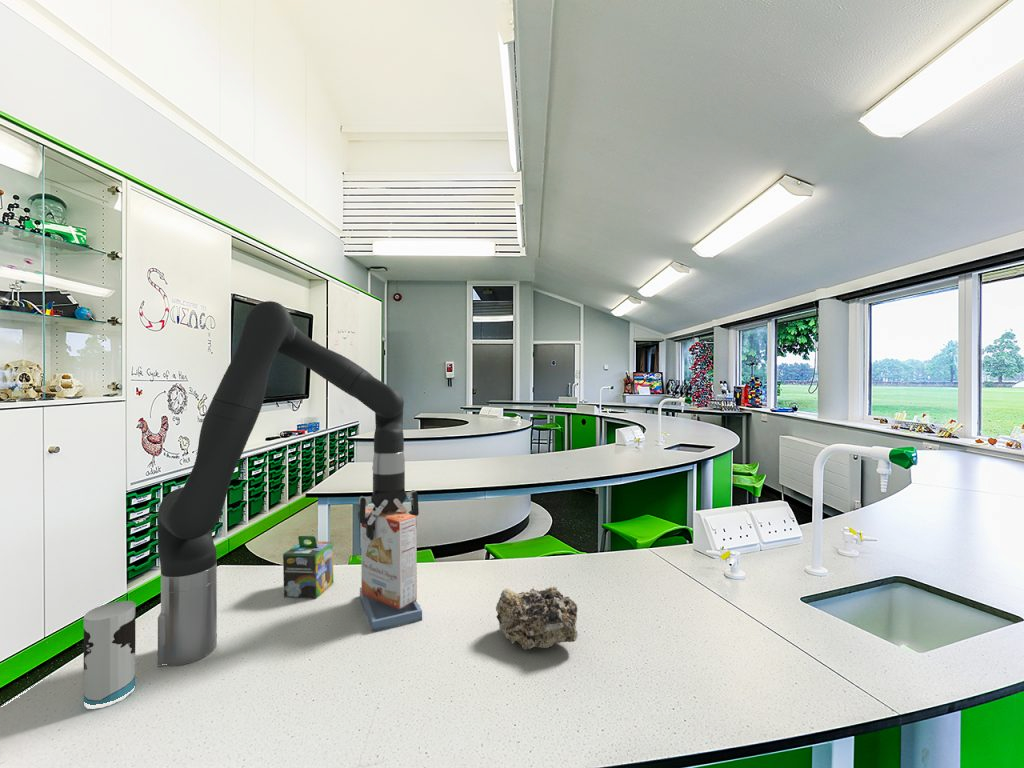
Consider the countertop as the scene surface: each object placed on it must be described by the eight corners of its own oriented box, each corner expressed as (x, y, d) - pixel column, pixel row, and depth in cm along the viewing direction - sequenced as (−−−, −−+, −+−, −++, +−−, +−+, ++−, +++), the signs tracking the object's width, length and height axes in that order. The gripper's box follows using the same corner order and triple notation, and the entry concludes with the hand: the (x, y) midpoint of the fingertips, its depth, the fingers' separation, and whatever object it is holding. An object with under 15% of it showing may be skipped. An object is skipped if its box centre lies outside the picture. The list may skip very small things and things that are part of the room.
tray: (372, 632, 98) (372, 622, 98) (359, 596, 115) (359, 587, 115) (422, 620, 103) (422, 610, 103) (403, 587, 120) (403, 579, 120)
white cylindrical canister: (144, 681, 82) (144, 599, 82) (115, 708, 75) (116, 619, 75) (104, 684, 81) (105, 601, 81) (72, 711, 74) (72, 621, 74)
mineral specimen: (576, 663, 87) (576, 612, 87) (488, 652, 91) (488, 603, 91) (580, 621, 102) (580, 578, 102) (504, 613, 106) (504, 571, 106)
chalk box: (334, 583, 122) (334, 529, 122) (316, 599, 113) (316, 541, 113) (302, 582, 123) (302, 528, 123) (281, 597, 114) (281, 539, 114)
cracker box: (359, 595, 111) (359, 510, 111) (379, 586, 116) (379, 505, 116) (398, 611, 103) (398, 520, 103) (417, 600, 108) (417, 514, 108)
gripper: (360, 475, 102) (360, 546, 102) (421, 470, 109) (421, 536, 109) (356, 469, 109) (356, 536, 109) (413, 465, 115) (413, 527, 116)
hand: (388, 536), depth 109 cm, fingers closed on cracker box, 8 cm apart
